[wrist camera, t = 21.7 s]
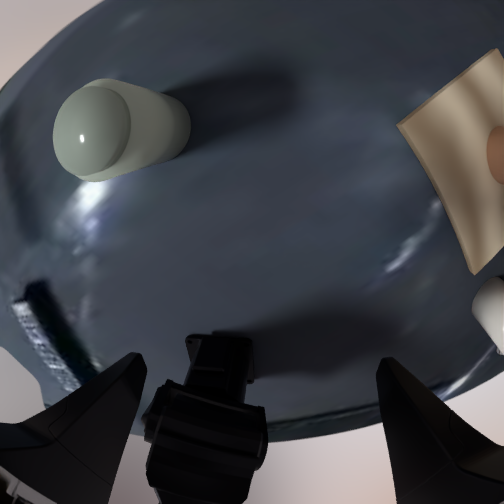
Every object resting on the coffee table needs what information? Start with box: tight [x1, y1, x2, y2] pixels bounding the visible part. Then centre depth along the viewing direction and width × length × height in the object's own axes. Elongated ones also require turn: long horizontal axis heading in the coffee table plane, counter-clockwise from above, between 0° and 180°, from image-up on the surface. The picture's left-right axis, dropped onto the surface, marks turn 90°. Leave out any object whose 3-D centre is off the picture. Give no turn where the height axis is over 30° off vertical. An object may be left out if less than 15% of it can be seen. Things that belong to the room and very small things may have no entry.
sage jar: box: [53, 79, 191, 182], centre depth 14 cm, size 5×5×9 cm
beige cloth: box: [396, 49, 504, 275], centre depth 15 cm, size 16×16×1 cm
